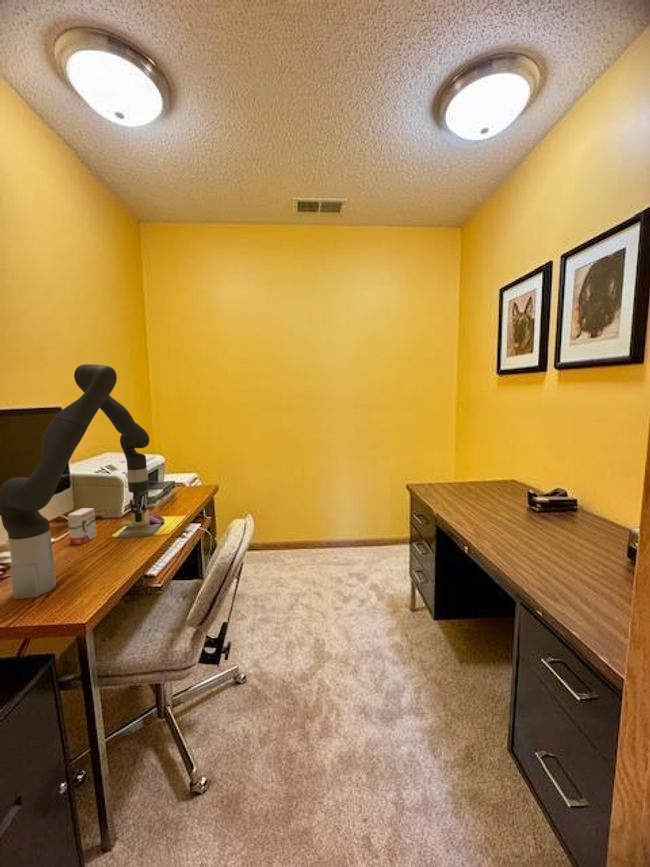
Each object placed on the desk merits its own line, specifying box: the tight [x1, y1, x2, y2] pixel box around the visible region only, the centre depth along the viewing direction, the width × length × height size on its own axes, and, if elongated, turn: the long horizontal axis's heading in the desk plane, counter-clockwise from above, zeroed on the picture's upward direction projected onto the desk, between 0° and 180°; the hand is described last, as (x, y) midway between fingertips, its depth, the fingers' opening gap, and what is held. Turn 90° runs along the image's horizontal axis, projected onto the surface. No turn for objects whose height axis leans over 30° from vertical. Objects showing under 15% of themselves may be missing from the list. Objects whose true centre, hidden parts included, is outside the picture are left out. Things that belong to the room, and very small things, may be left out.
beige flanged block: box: [118, 509, 150, 528], centre depth 148 cm, size 10×5×5 cm, turn 98°
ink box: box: [67, 507, 98, 546], centre depth 139 cm, size 9×5×12 cm, turn 179°
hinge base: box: [117, 511, 165, 539], centre depth 149 cm, size 14×13×8 cm
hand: (141, 519), depth 149 cm, fingers closed on beige flanged block, 5 cm apart
